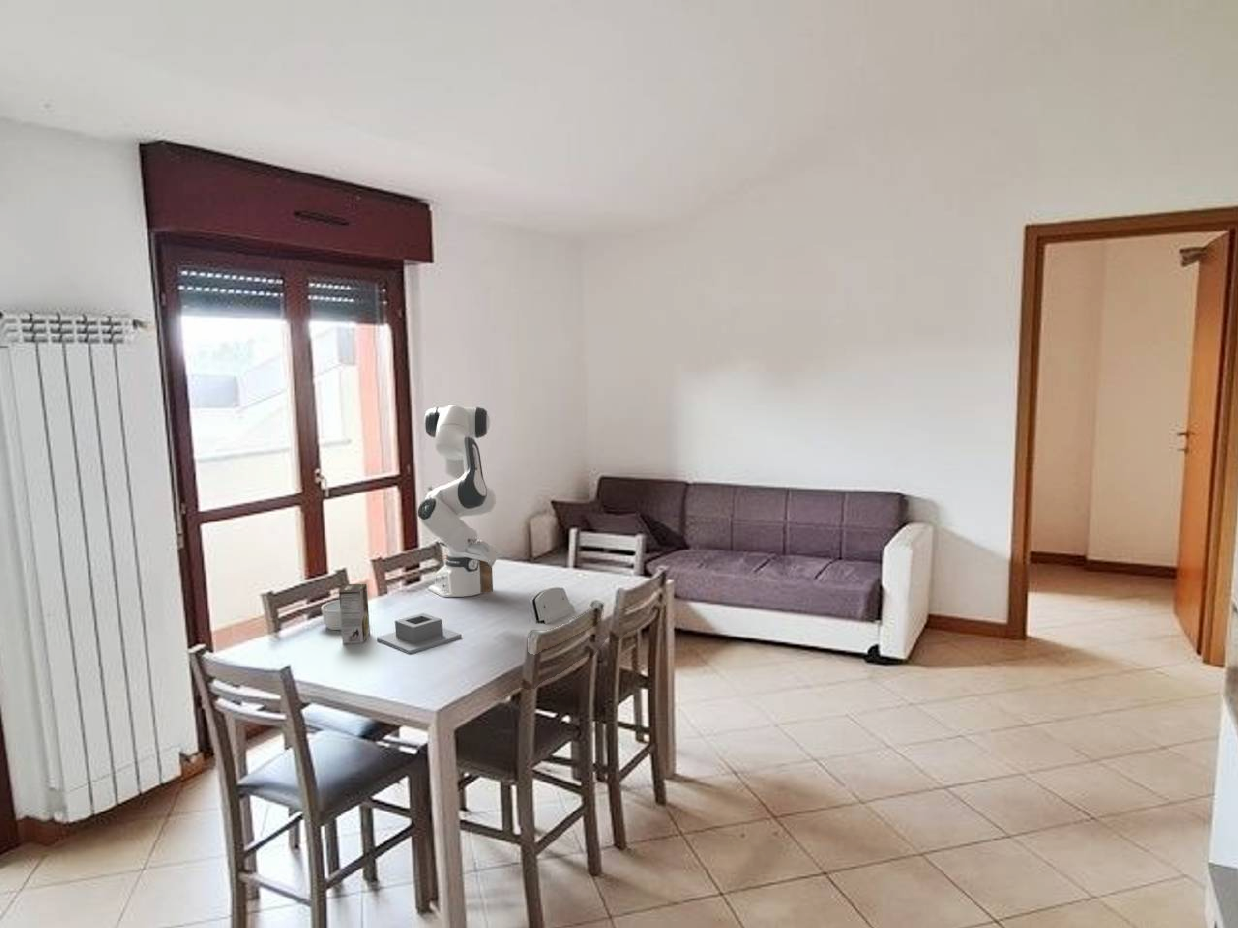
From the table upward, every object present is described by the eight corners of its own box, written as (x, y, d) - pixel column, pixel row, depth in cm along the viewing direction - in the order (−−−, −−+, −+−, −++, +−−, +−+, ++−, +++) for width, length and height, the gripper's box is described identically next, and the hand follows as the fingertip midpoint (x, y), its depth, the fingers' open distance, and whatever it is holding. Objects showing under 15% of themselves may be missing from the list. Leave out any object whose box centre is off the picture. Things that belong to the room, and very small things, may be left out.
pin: (477, 591, 247) (475, 553, 245) (487, 588, 250) (486, 551, 248) (485, 593, 244) (483, 555, 243) (495, 590, 247) (494, 553, 246)
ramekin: (374, 622, 257) (373, 601, 256) (343, 634, 246) (342, 612, 245) (345, 617, 263) (344, 596, 262) (313, 628, 252) (312, 607, 251)
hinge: (546, 624, 250) (536, 594, 251) (535, 627, 253) (525, 597, 253) (575, 609, 264) (566, 581, 265) (564, 612, 267) (555, 584, 267)
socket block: (377, 640, 239) (376, 621, 238) (428, 625, 252) (427, 607, 251) (409, 654, 226) (408, 633, 226) (461, 637, 240) (460, 618, 239)
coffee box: (349, 634, 246) (346, 583, 244) (370, 632, 246) (367, 582, 244) (341, 644, 237) (338, 591, 235) (363, 642, 237) (360, 590, 235)
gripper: (486, 533, 232) (513, 559, 241) (446, 525, 246) (473, 549, 254) (474, 551, 230) (502, 576, 238) (434, 541, 243) (462, 566, 252)
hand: (487, 562), depth 246 cm, fingers closed on pin, 4 cm apart
